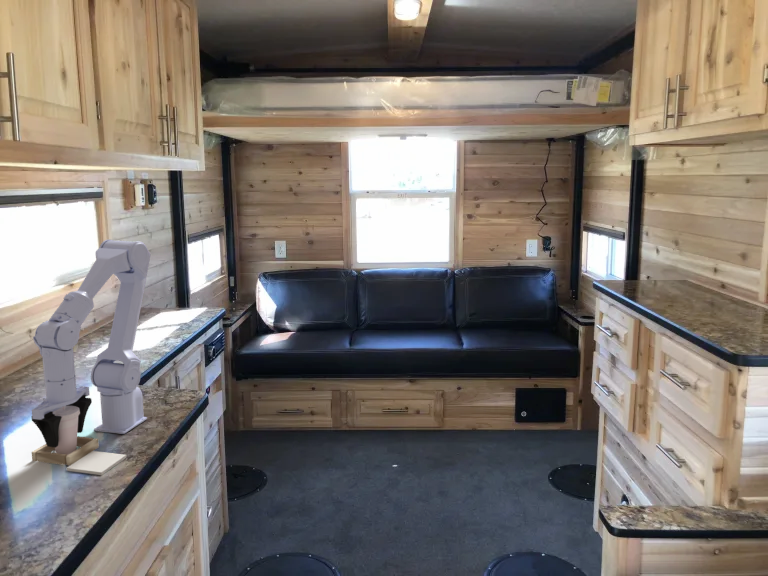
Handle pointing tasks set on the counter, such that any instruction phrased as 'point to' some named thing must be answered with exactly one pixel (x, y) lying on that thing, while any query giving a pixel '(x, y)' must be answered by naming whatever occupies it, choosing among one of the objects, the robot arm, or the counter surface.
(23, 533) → the counter surface
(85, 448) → the collar
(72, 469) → the coaster pad
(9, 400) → the counter surface
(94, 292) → the robot arm
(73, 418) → the smoothie
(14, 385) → the counter surface
